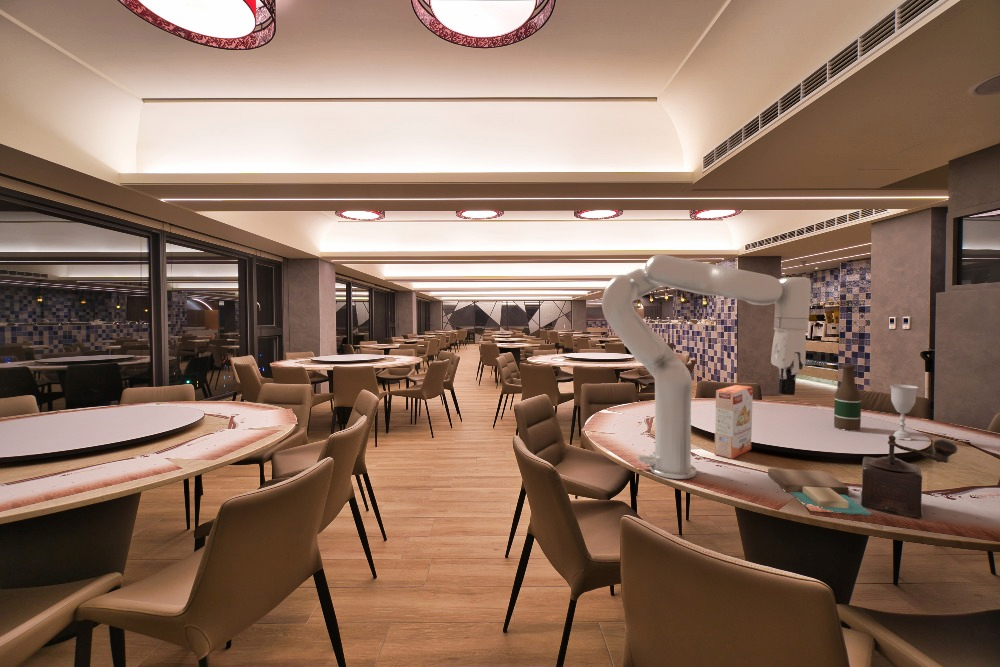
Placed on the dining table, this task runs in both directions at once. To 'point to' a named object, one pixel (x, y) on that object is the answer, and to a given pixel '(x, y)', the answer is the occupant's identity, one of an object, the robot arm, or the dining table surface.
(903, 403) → the chalice
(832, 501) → the maple tile
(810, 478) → the board
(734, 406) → the cracker box
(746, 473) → the dining table surface
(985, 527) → the dining table surface
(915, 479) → the brown manual coffee grinder
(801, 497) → the teal mat
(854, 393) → the beer bottle
